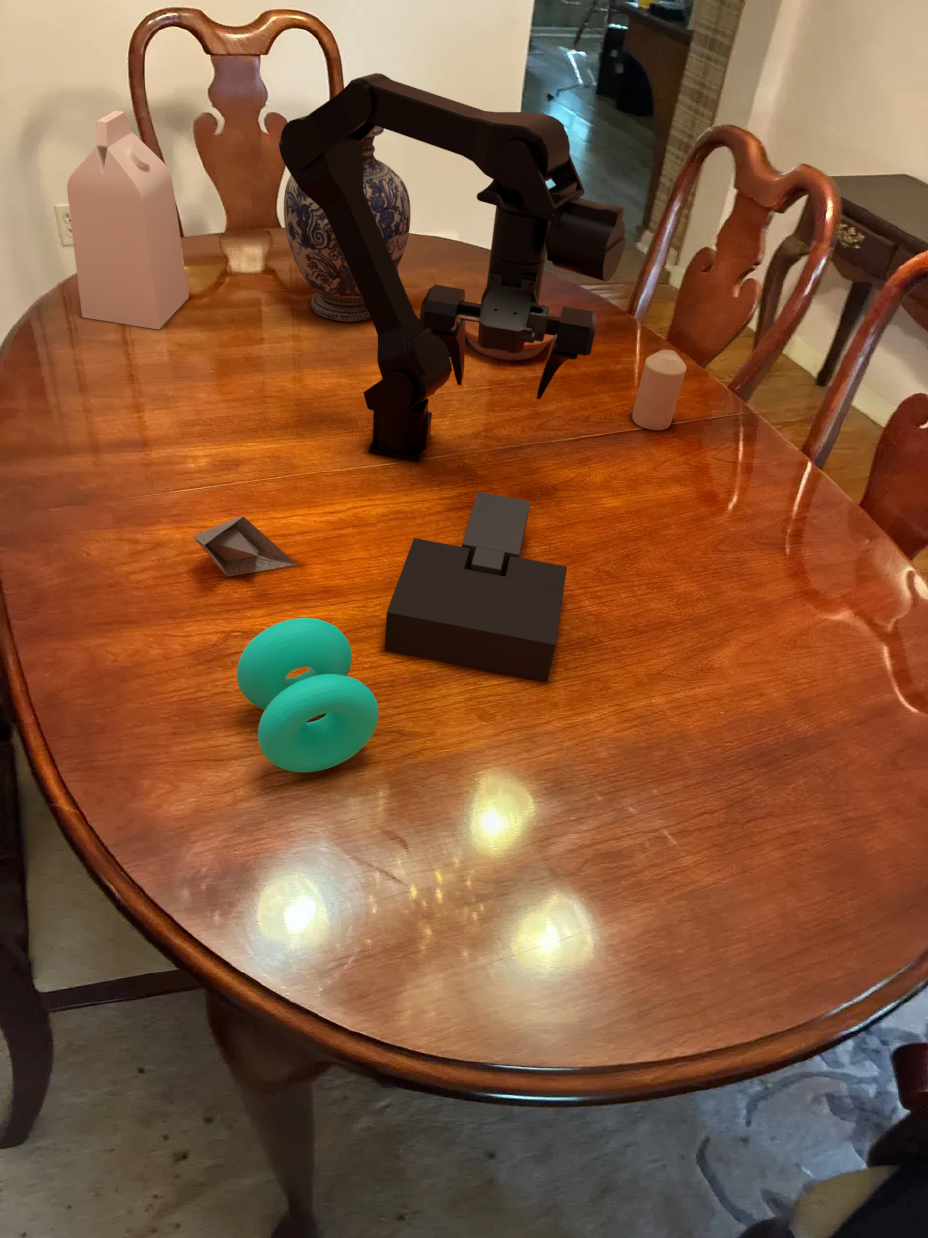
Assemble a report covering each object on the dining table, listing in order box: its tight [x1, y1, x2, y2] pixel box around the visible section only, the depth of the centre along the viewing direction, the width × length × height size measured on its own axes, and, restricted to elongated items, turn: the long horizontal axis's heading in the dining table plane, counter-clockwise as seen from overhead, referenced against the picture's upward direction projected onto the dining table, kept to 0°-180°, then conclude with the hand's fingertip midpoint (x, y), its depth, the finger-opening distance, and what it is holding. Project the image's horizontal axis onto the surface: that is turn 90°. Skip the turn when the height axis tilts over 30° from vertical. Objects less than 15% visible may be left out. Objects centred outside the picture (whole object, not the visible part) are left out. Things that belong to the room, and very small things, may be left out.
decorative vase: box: [283, 126, 412, 323], centre depth 137 cm, size 21×19×28 cm
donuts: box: [236, 617, 380, 773], centre depth 77 cm, size 10×10×10 cm
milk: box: [66, 110, 190, 330], centre depth 130 cm, size 12×12×26 cm
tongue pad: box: [461, 491, 531, 577], centre depth 99 cm, size 6×13×5 cm, turn 170°
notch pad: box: [384, 537, 568, 683], centre depth 92 cm, size 16×12×5 cm
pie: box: [465, 300, 554, 362], centre depth 141 cm, size 16×16×5 cm
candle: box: [631, 349, 687, 431], centre depth 126 cm, size 6×6×10 cm
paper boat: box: [192, 516, 298, 578], centre depth 94 cm, size 12×6×9 cm
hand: (499, 390), depth 106 cm, fingers open, 9 cm apart
